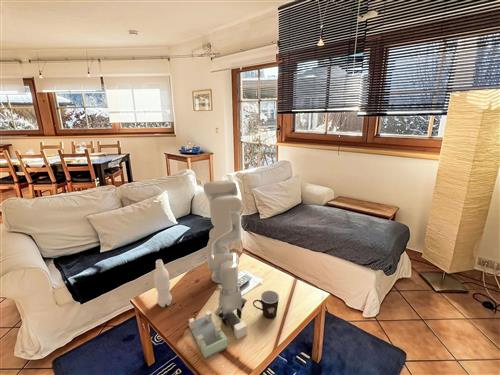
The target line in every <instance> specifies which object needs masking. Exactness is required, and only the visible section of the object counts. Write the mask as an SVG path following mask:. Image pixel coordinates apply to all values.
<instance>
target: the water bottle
mask: <svg viewBox="0 0 500 375" xmlns="http://www.w3.org/2000/svg"><path fill="white" fill-rule="evenodd" d="M168 271H169V270H167V268H165V266H164V262H163V260H162V259H160V258H159V259H157V260H156V261H155V270H154V273H153V281H154V289H156V291H157V299H156V302H157V304H158V305H159V306H160V307H162V308H165V307H166V306H170V305H171V303H172V299H173V296H172V295H171V292H170V287H171V281H170V275H169V274H170V273H169V272H168Z"/></svg>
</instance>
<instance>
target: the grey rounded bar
mask: <svg viewBox="0 0 500 375" xmlns="http://www.w3.org/2000/svg"><path fill="white" fill-rule="evenodd" d="M221 311H222V310H221ZM221 311H220V312H221ZM226 321H228V322H229V324H230V325H231V328H232V329H233V335H234V336H235V337H236V339H237V340H239V339H240V338H243V337H245V336H246V335H248V325H247V324H246V322H245V321H244V320H243V321H240V319H239V317H238V316H237V314H235V313H234V311H231V312H229V313H227V314H226Z"/></svg>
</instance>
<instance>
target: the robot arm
mask: <svg viewBox="0 0 500 375" xmlns="http://www.w3.org/2000/svg"><path fill="white" fill-rule="evenodd" d="M203 192H204V195H205V196H206V199H207V200H208V202H209V212H210V221H211V224H212V225H213V228H211V229H210V231H209V232H208V233H209V234H208V235H209V236H208V237H209V239H208V242H207V245H206V259H207V260H206V261H207V268H208V270H209V271H210V272H212V274H211V275H210V276H211V280H212V281H213V282H214V283H216V284H221V290H220V291H219V295H218V296H219V297H218V307H217V308H216V310H215V311H214V315H215V316H217V317H219V318H221V323H222V324H223V325H224V326H227V321H228V320H227V318H226V314H227V313H229V312H231V311H233V312H234V311H236V317H237V318H238V319H239V320H240V319H242V311H243V308H244V307H245V305H246V303H247V301H248V300H247V299H246V298H245V297H242V296H243V295H242V291H241V289H240V285H242V283H241V281H239V272H238V271H239V264H240V257H239V255H238V253H237V252H235V251H230V249H229V247H228V245H227V244H232V243H237V242H240V241H241V239H242V224H241V222H242V221H241V212H242V211H243V207H244V206H243V205H244V203H243V197H242V193H241V189H240V185H239V182H238V181H237V180H235V179H227V180H215V181H207V182H205V183H204V184H203ZM221 310H222V311H221Z"/></svg>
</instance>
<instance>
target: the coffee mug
mask: <svg viewBox="0 0 500 375" xmlns="http://www.w3.org/2000/svg"><path fill="white" fill-rule="evenodd" d="M279 300H280V296H279V294H278V292H276V291H275V290H265V291H263V292H262V293H261V294H260V299H255V300H254V301H253V302H252V305H253V307H254V308H256V309H258V310H260V311H262V315H263V317H264V318H265V319H268V320H274V319H275V318H276V317H277V314H278V313H277V312H278V306H279ZM257 302H259V303H260V304H261V308H260V307H259V306H256V305H255V303H257Z"/></svg>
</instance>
